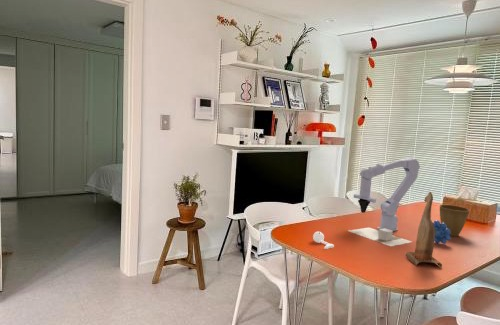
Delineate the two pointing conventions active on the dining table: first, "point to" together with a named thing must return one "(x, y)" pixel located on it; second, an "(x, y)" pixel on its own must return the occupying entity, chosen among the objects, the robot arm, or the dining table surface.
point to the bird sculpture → (424, 237)
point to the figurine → (321, 239)
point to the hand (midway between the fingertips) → (363, 212)
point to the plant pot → (453, 218)
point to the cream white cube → (385, 234)
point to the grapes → (441, 232)
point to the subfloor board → (373, 235)
